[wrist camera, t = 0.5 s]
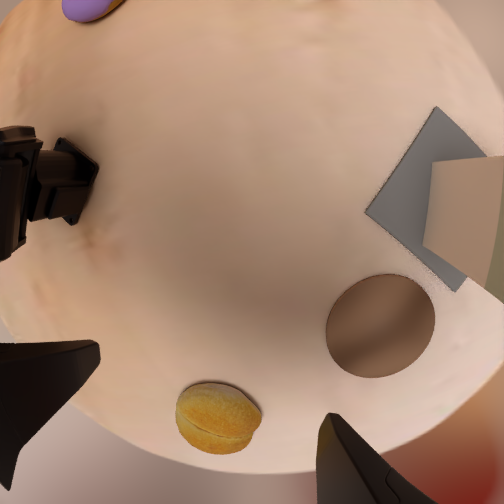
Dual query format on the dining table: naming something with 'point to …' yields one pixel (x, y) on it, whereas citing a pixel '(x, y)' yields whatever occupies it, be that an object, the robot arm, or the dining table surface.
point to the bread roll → (216, 418)
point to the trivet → (380, 326)
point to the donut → (87, 9)
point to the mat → (422, 190)
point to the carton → (469, 219)
